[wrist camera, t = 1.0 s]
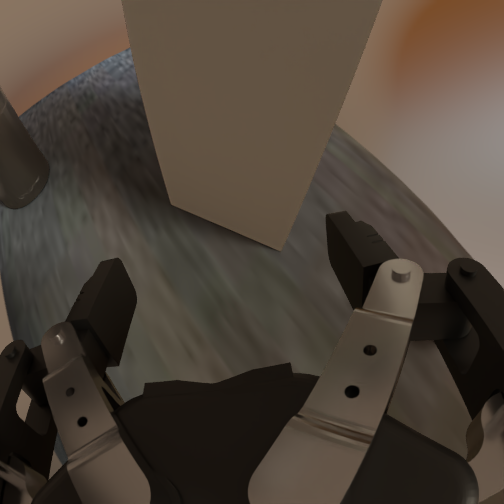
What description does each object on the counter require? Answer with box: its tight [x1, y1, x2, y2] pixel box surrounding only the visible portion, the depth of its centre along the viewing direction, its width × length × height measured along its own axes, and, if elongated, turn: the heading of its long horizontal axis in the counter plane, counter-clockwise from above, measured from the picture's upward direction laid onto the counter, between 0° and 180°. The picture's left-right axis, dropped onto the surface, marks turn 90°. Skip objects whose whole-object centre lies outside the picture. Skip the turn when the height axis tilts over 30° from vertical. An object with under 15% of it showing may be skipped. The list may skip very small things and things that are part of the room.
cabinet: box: [122, 0, 382, 252], centre depth 23 cm, size 16×14×33 cm
